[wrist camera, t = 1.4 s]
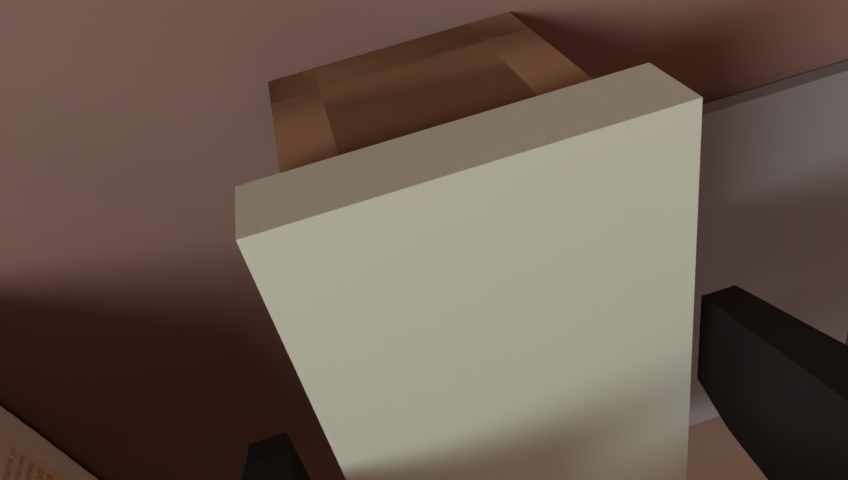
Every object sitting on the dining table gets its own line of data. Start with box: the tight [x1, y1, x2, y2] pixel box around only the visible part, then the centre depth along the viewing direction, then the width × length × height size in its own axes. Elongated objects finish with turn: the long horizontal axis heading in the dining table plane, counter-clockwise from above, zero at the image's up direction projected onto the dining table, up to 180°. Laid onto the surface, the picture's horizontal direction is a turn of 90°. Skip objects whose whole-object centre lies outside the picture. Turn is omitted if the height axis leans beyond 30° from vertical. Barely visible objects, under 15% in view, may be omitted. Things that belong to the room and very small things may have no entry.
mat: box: [689, 60, 848, 426], centre depth 17 cm, size 10×7×1 cm
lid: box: [235, 62, 703, 480], centre depth 11 cm, size 11×5×1 cm, turn 12°
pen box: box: [268, 12, 593, 173], centre depth 13 cm, size 10×4×4 cm, turn 12°
